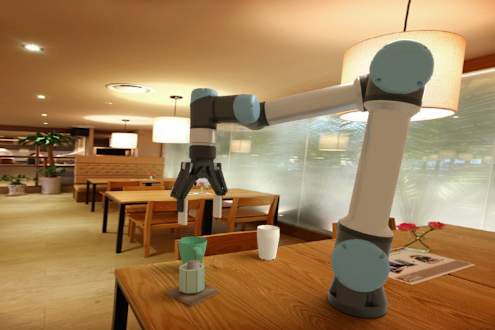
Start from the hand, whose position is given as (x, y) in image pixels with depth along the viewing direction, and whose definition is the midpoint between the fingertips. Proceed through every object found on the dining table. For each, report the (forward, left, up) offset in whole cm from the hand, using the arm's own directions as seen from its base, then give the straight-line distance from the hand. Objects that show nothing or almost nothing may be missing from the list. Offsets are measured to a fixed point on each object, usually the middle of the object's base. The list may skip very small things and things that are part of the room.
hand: (200, 220), depth 82 cm
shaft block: (+1, +1, -21) cm, 21 cm away
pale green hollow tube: (+1, +1, -19) cm, 19 cm away
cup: (+2, -40, -21) cm, 45 cm away
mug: (+13, -10, -21) cm, 27 cm away
